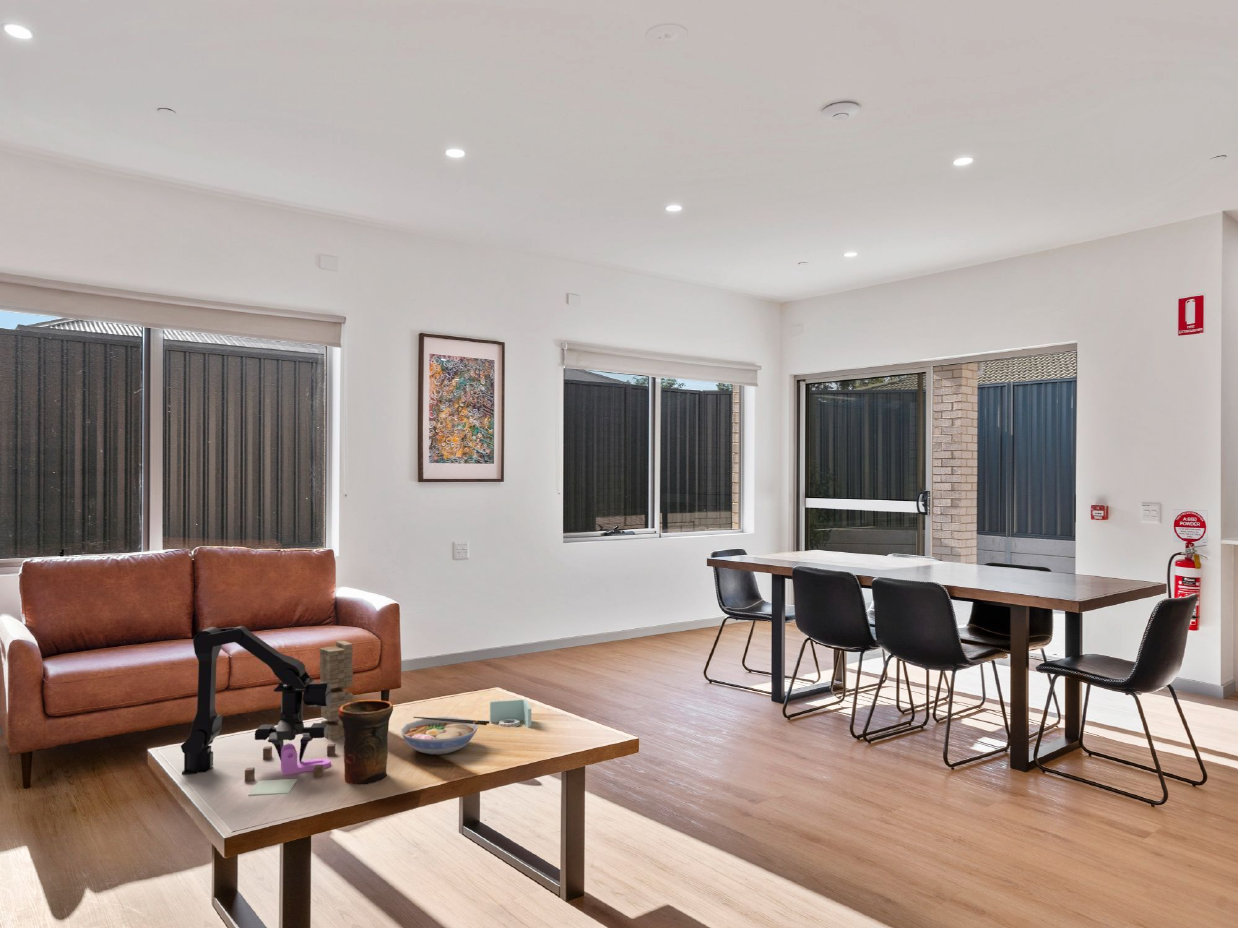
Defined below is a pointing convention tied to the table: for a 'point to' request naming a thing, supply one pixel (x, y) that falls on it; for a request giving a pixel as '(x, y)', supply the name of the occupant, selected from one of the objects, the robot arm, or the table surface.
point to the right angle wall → (510, 712)
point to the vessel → (365, 740)
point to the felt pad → (273, 787)
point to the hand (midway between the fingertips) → (291, 761)
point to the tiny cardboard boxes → (268, 754)
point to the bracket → (292, 766)
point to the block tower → (336, 684)
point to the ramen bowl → (440, 733)
